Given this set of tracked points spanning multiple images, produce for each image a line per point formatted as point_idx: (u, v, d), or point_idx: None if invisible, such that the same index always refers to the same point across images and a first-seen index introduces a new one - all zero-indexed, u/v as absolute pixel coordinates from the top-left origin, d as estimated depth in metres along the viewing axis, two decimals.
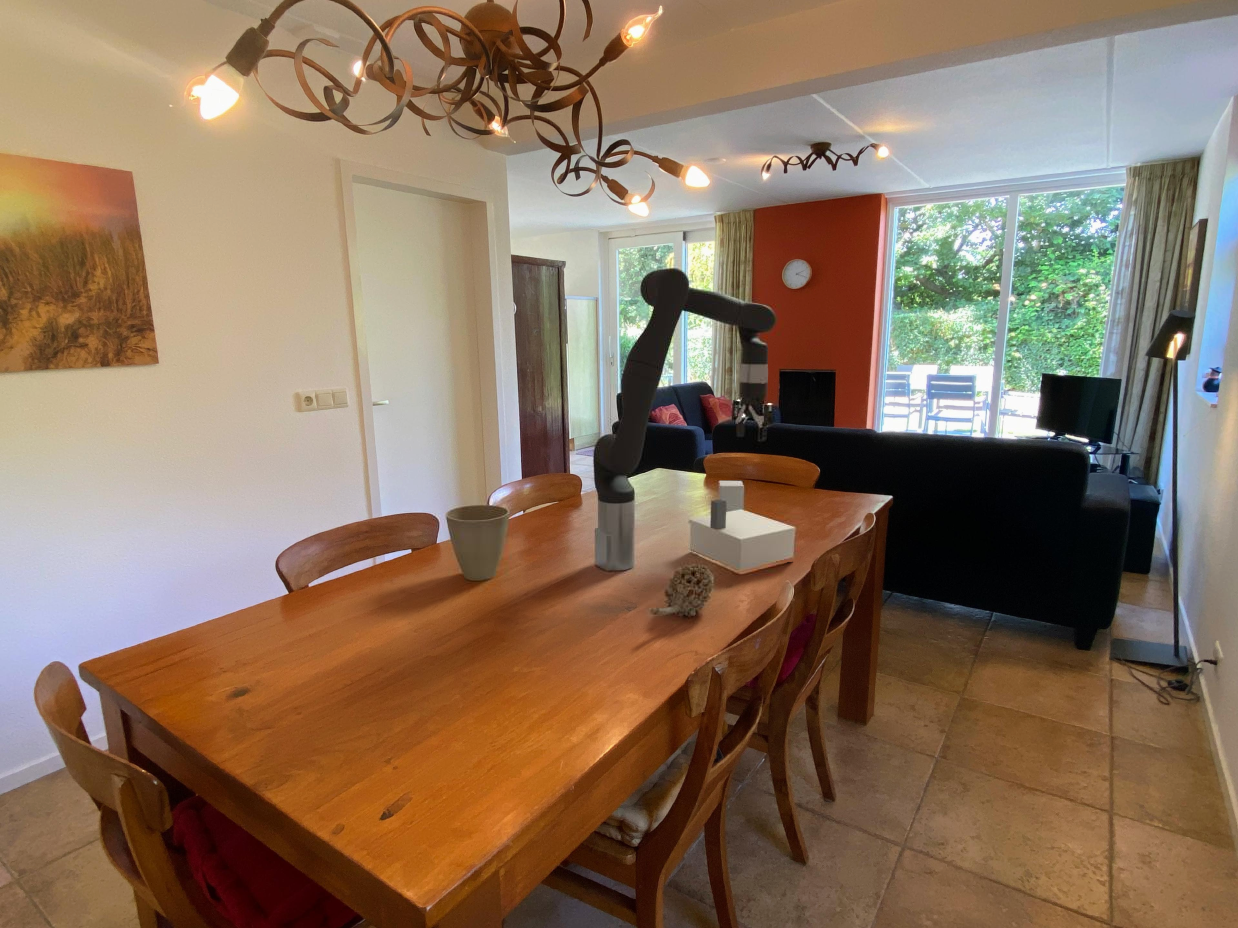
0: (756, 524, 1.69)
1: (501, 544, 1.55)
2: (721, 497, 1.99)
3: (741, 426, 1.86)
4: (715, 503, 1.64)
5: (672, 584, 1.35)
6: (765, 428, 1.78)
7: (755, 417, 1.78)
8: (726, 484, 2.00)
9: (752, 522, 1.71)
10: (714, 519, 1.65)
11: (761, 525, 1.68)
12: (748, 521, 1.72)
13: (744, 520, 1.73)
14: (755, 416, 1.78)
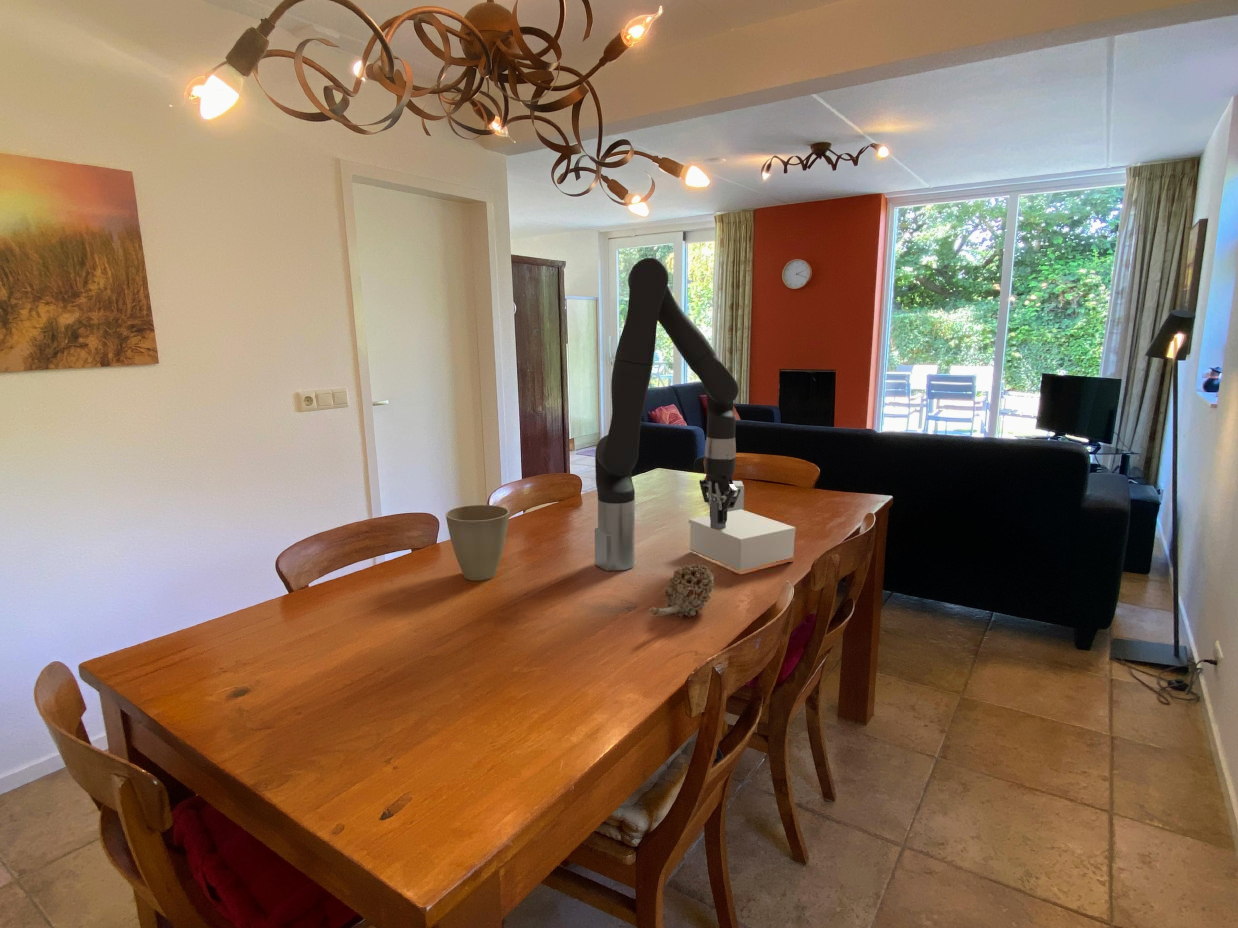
0: (756, 524, 1.69)
1: (501, 544, 1.55)
2: None
3: None
4: (715, 503, 1.64)
5: (672, 584, 1.35)
6: (725, 510, 1.63)
7: (718, 497, 1.62)
8: None
9: (752, 522, 1.71)
10: (714, 519, 1.65)
11: (761, 525, 1.68)
12: (748, 521, 1.72)
13: (744, 520, 1.73)
14: (718, 496, 1.62)
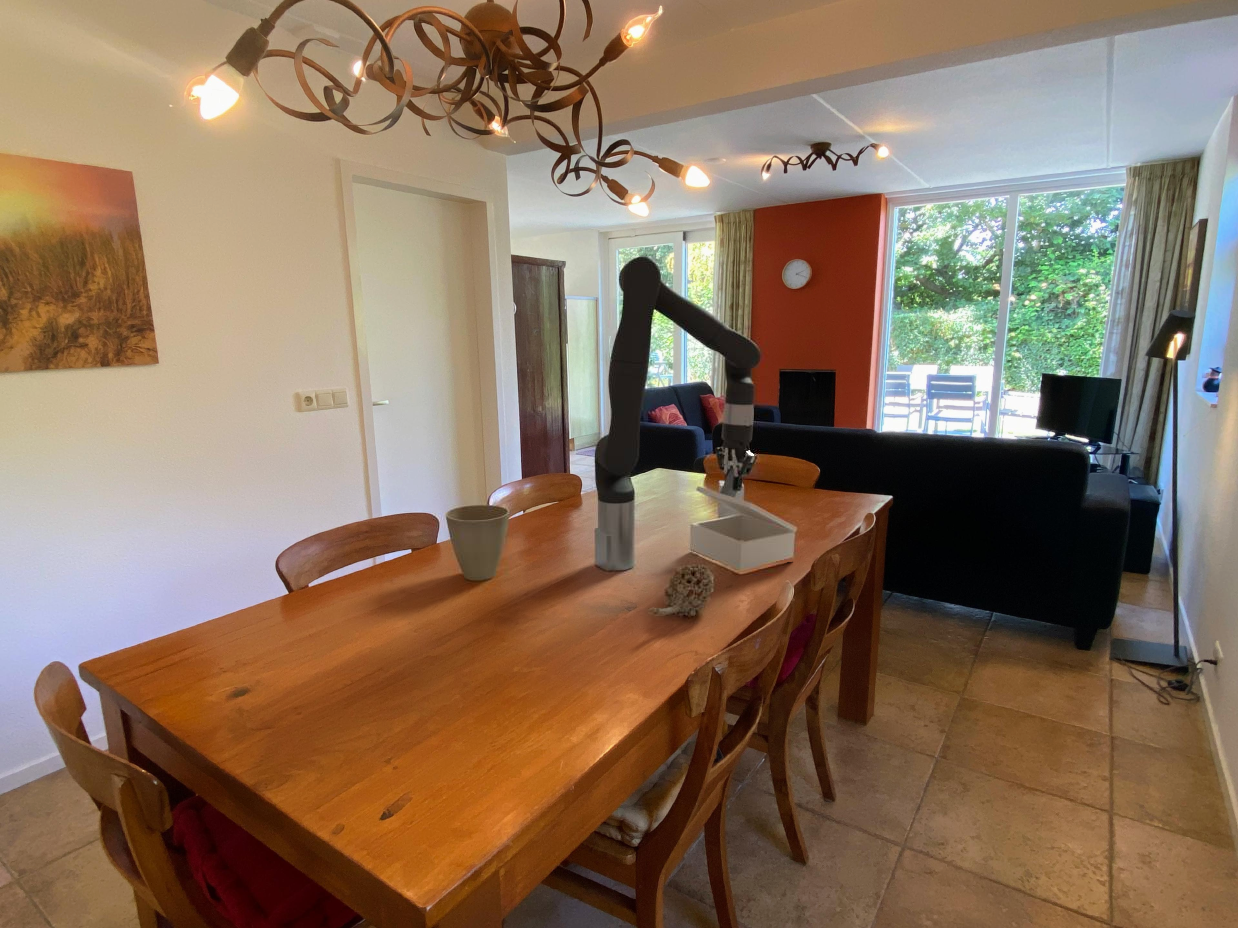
0: None
1: (501, 544, 1.55)
2: None
3: None
4: None
5: (672, 584, 1.35)
6: (741, 477, 1.64)
7: (734, 464, 1.63)
8: None
9: None
10: (727, 485, 1.65)
11: None
12: None
13: None
14: (734, 463, 1.63)
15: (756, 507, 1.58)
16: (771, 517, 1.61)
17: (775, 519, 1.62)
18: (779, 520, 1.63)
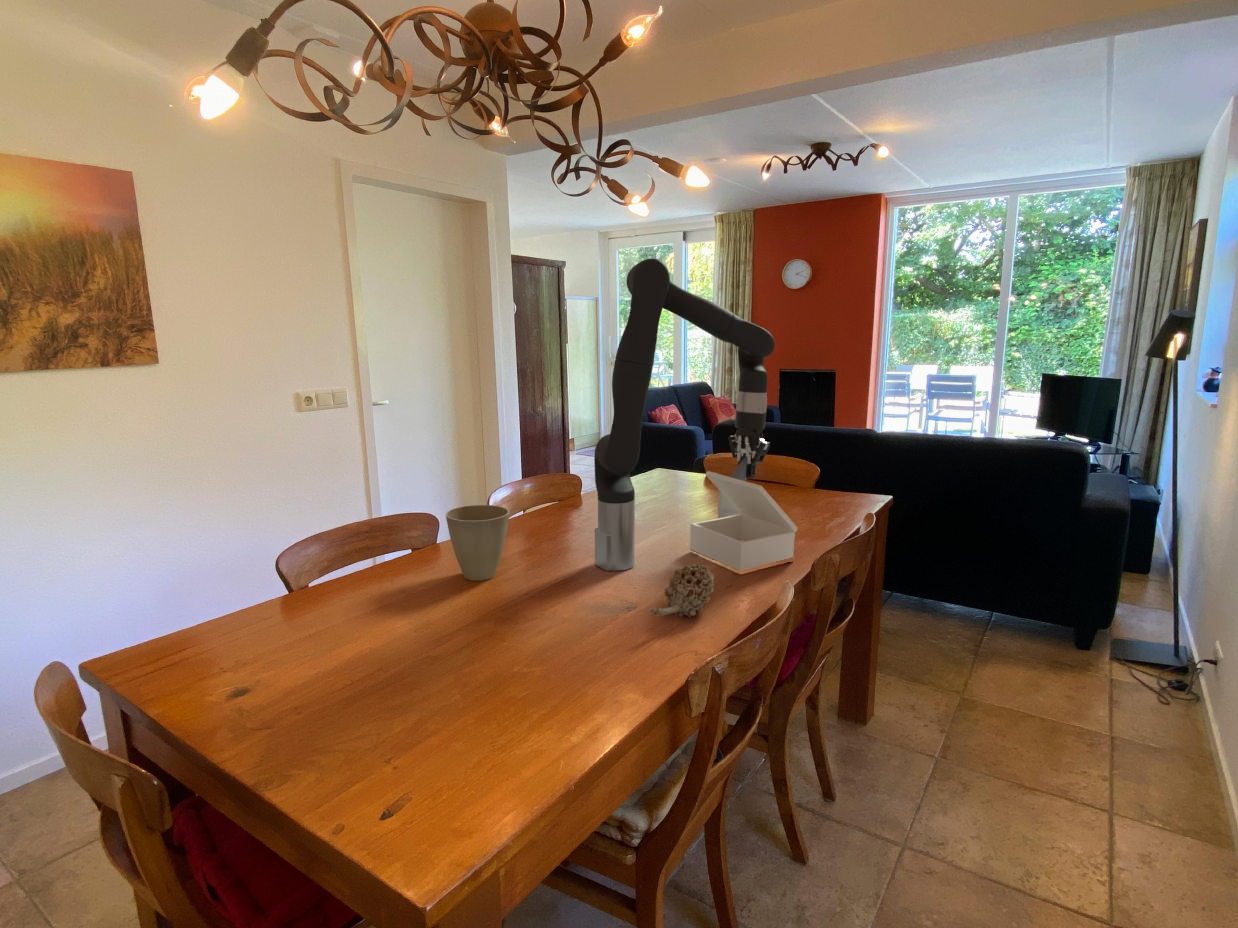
0: None
1: (501, 544, 1.55)
2: (721, 497, 1.99)
3: None
4: None
5: (672, 584, 1.35)
6: (754, 464, 1.66)
7: (747, 451, 1.65)
8: None
9: None
10: (739, 470, 1.66)
11: None
12: None
13: None
14: (747, 450, 1.65)
15: (765, 492, 1.59)
16: (776, 508, 1.62)
17: (780, 511, 1.62)
18: (783, 514, 1.63)
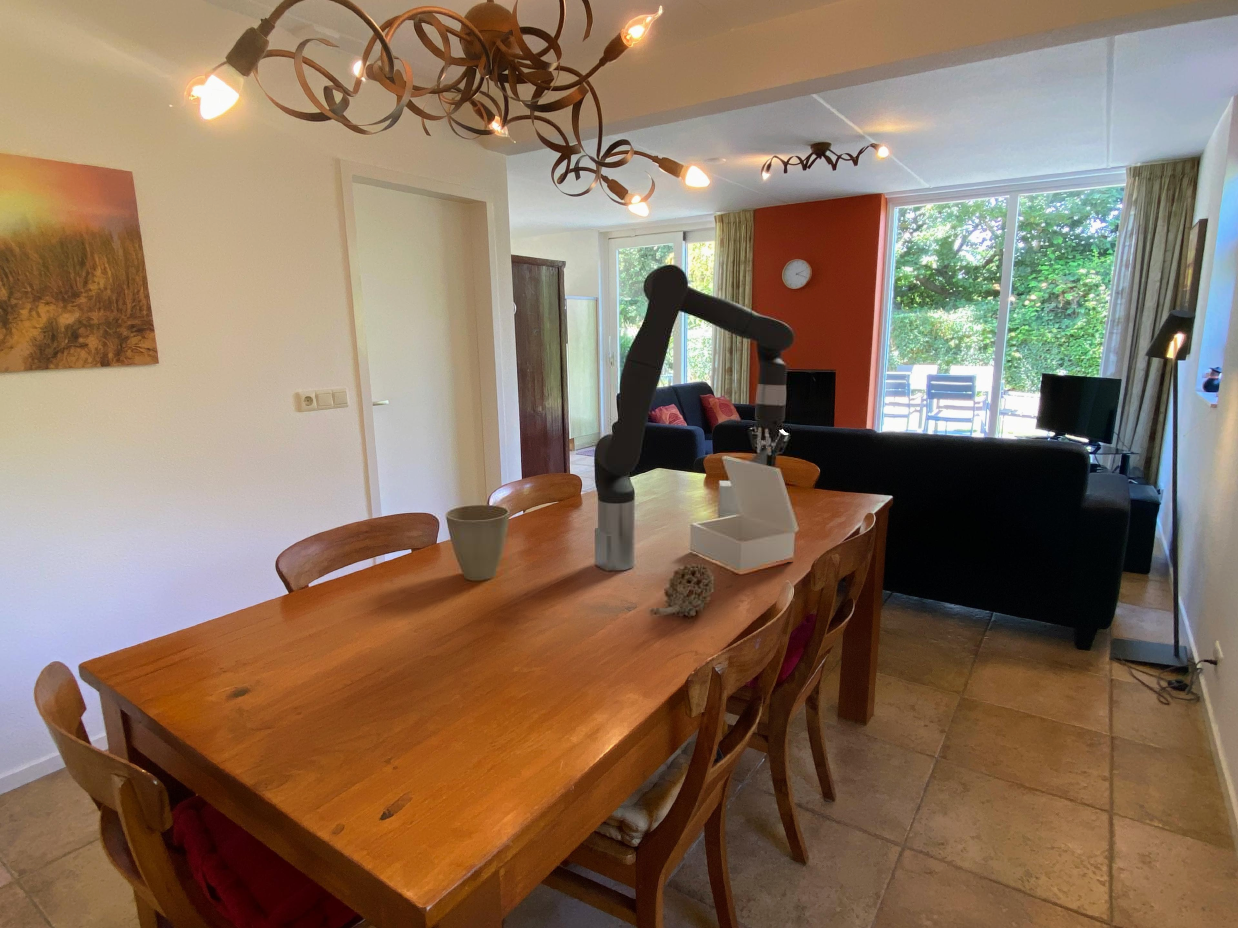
0: None
1: (501, 544, 1.55)
2: (721, 497, 1.99)
3: None
4: None
5: (672, 584, 1.35)
6: (774, 456, 1.69)
7: (767, 443, 1.68)
8: (726, 484, 2.00)
9: None
10: (758, 457, 1.69)
11: None
12: None
13: None
14: (768, 442, 1.68)
15: (781, 477, 1.61)
16: (786, 498, 1.63)
17: (788, 503, 1.63)
18: (790, 507, 1.64)
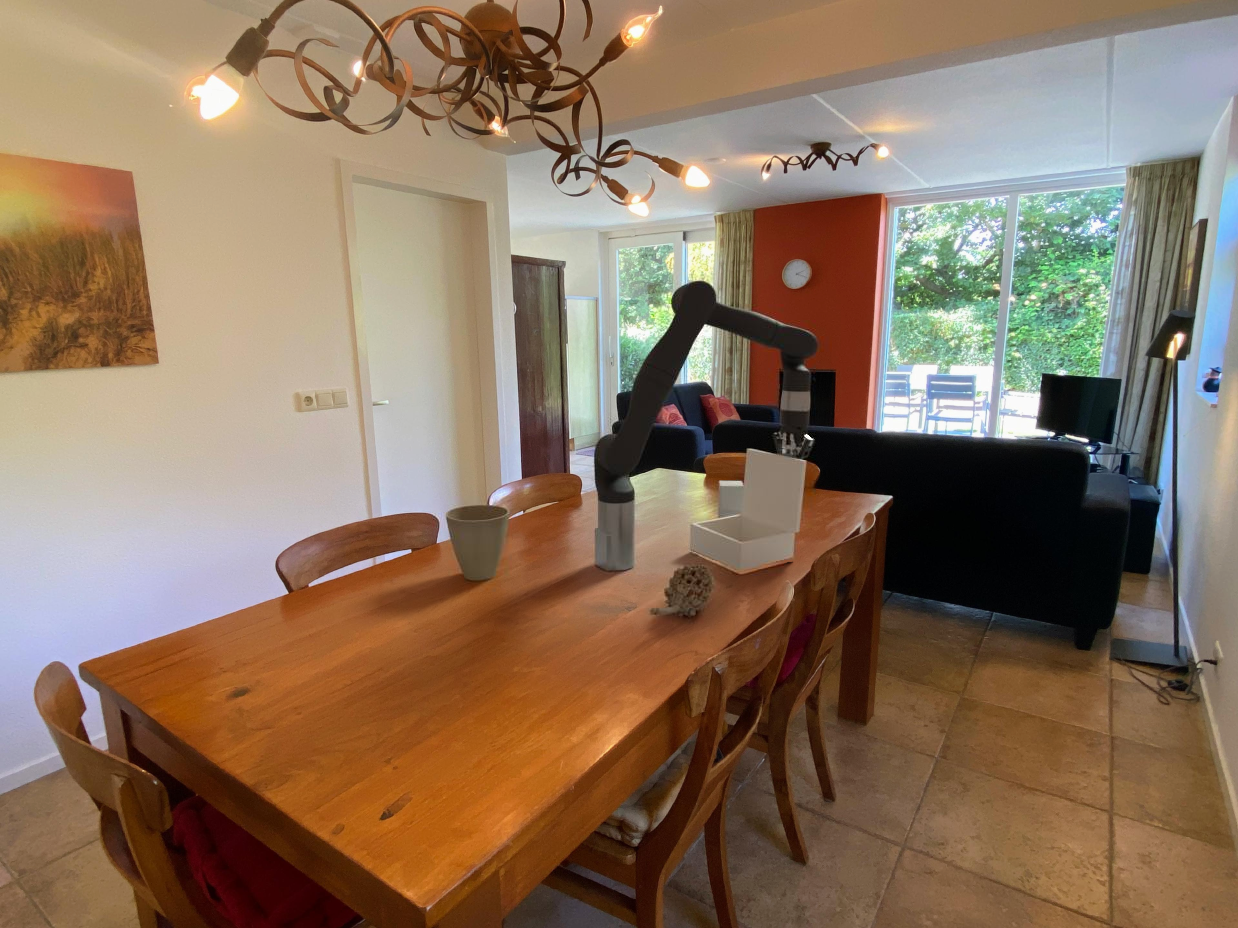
0: None
1: (501, 544, 1.55)
2: (721, 497, 1.99)
3: None
4: None
5: (672, 584, 1.35)
6: None
7: (792, 447, 1.73)
8: (726, 484, 2.00)
9: None
10: (784, 454, 1.74)
11: None
12: None
13: None
14: (793, 447, 1.73)
15: (804, 469, 1.65)
16: (800, 493, 1.65)
17: (800, 499, 1.66)
18: (800, 505, 1.66)
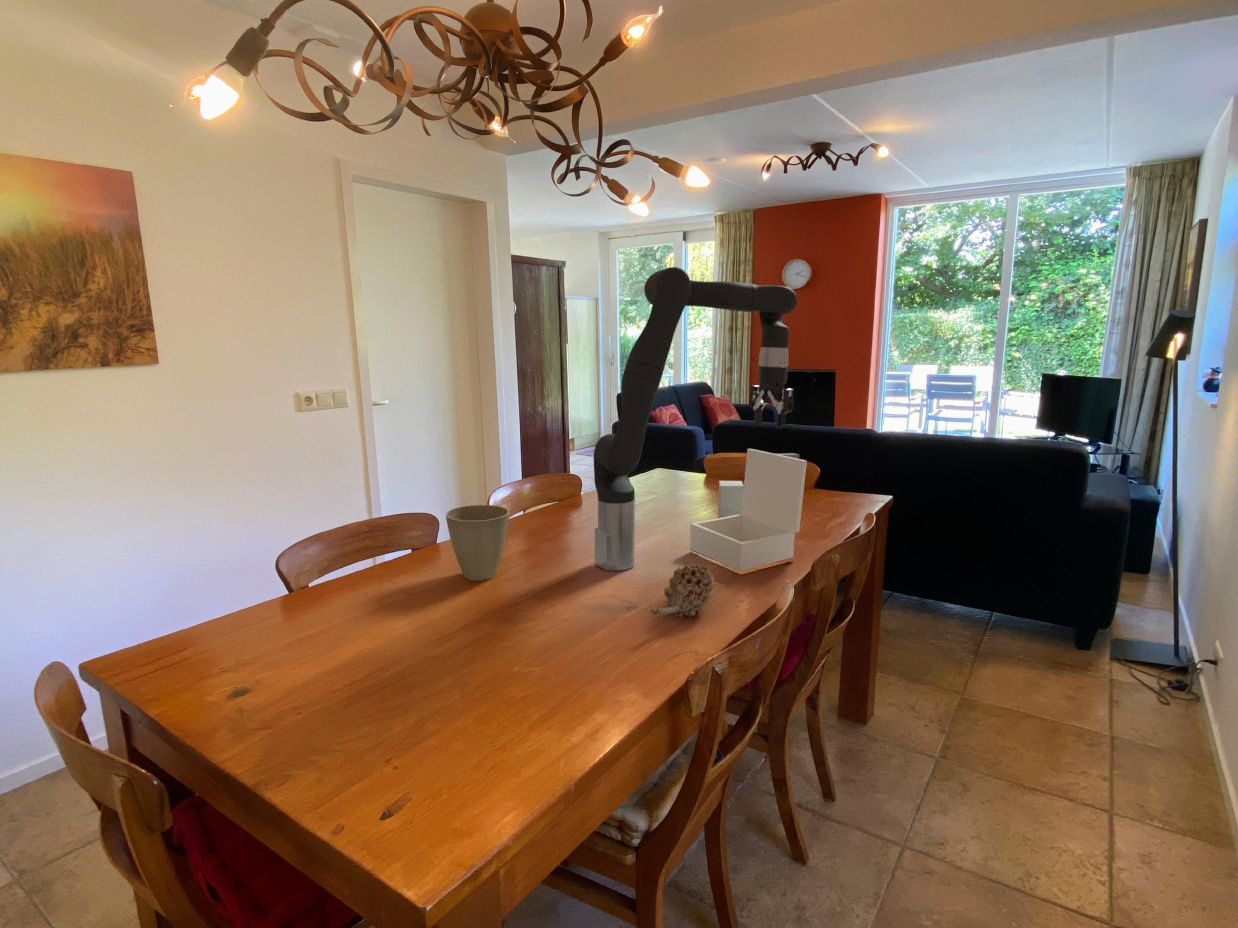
0: None
1: (501, 544, 1.55)
2: (721, 497, 1.99)
3: (759, 413, 1.78)
4: (796, 454, 1.76)
5: (672, 584, 1.35)
6: (784, 414, 1.71)
7: (774, 403, 1.71)
8: (726, 484, 2.00)
9: None
10: (785, 454, 1.74)
11: None
12: None
13: None
14: (774, 402, 1.71)
15: (805, 469, 1.65)
16: (801, 493, 1.65)
17: (800, 499, 1.66)
18: (800, 505, 1.66)
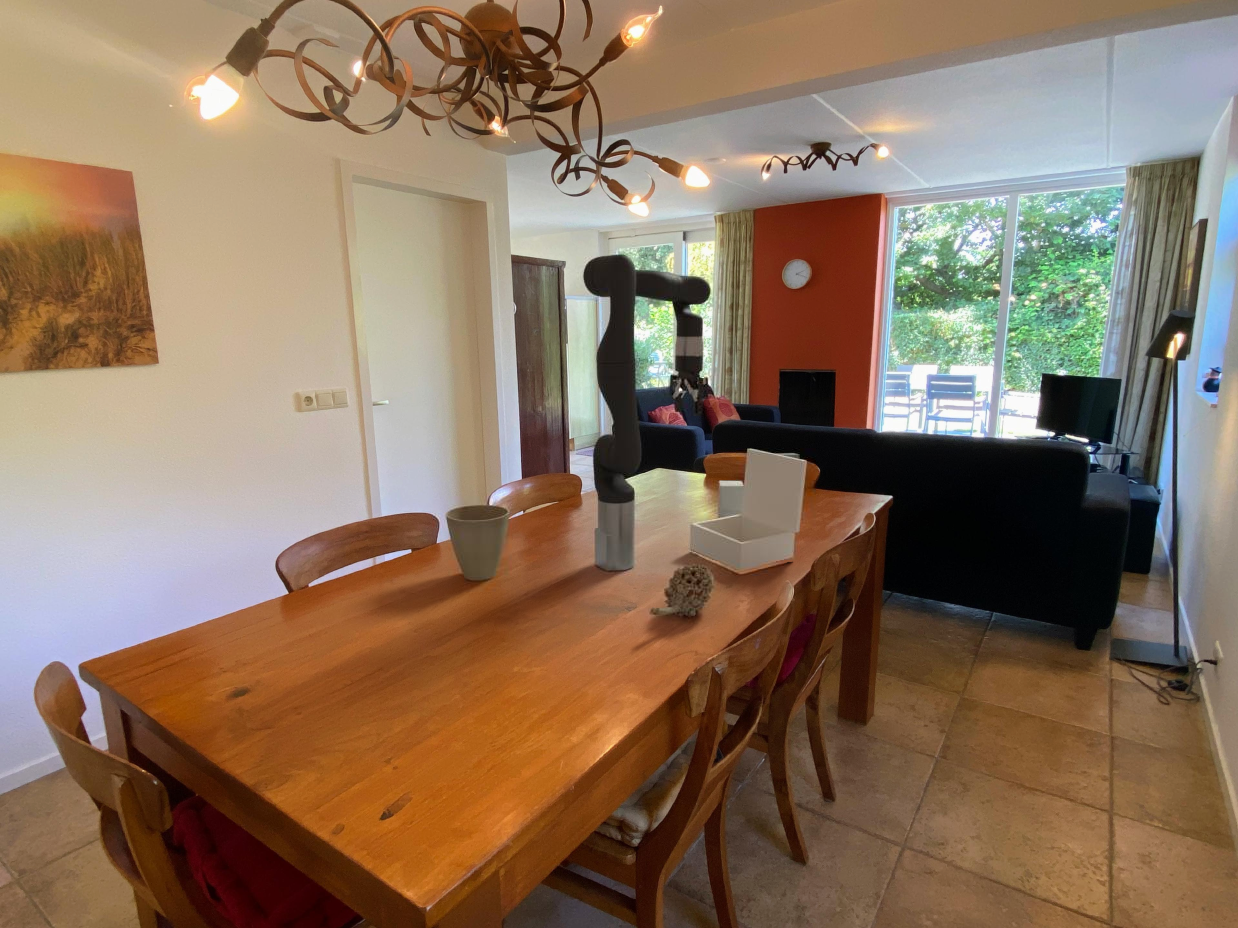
0: None
1: (501, 544, 1.55)
2: (721, 497, 1.99)
3: (679, 401, 1.83)
4: (796, 454, 1.76)
5: (672, 584, 1.35)
6: (700, 402, 1.75)
7: (690, 391, 1.75)
8: (726, 484, 2.00)
9: None
10: (785, 454, 1.74)
11: None
12: None
13: None
14: (690, 390, 1.75)
15: (805, 469, 1.65)
16: (801, 493, 1.65)
17: (800, 499, 1.66)
18: (800, 505, 1.66)
